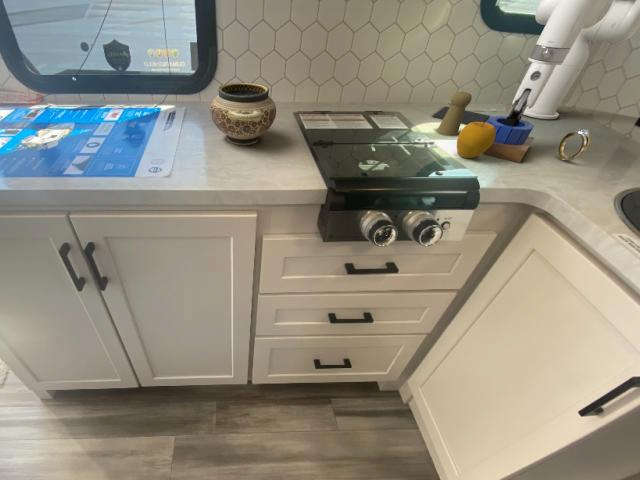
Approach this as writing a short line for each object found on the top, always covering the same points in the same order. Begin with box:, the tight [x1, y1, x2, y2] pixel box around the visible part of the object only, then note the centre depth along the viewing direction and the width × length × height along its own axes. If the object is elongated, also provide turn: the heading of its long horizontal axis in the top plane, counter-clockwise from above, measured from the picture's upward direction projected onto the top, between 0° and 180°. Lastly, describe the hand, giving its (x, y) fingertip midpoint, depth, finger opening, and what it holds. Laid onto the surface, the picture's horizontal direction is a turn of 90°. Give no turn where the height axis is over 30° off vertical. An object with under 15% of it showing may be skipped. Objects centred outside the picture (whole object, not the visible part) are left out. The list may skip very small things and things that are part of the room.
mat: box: [432, 106, 490, 126], centre depth 120 cm, size 15×15×1 cm
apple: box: [456, 121, 496, 159], centre depth 91 cm, size 8×8×9 cm
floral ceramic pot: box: [209, 82, 277, 146], centre depth 94 cm, size 24×18×15 cm
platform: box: [482, 135, 535, 163], centre depth 99 cm, size 14×14×3 cm
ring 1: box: [485, 115, 535, 145], centre depth 96 cm, size 11×11×4 cm
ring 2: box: [558, 127, 591, 161], centre depth 92 cm, size 7×3×8 cm, turn 179°
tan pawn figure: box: [436, 91, 473, 137], centre depth 105 cm, size 6×6×11 cm
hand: (506, 131), depth 100 cm, fingers closed on ring 1, 2 cm apart
